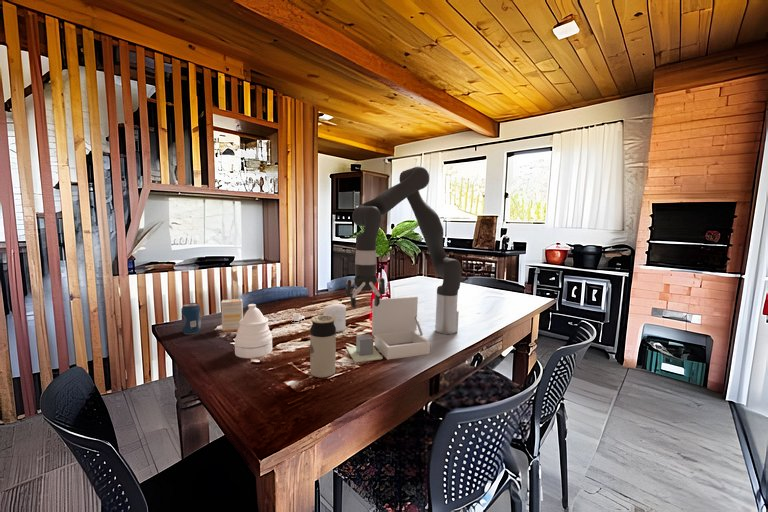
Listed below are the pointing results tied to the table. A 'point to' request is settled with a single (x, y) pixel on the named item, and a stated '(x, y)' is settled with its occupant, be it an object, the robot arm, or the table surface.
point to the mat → (366, 357)
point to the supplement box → (231, 314)
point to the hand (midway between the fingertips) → (365, 306)
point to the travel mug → (322, 346)
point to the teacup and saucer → (297, 317)
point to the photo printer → (337, 315)
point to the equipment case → (398, 328)
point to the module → (364, 344)
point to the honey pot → (253, 335)
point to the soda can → (191, 318)
